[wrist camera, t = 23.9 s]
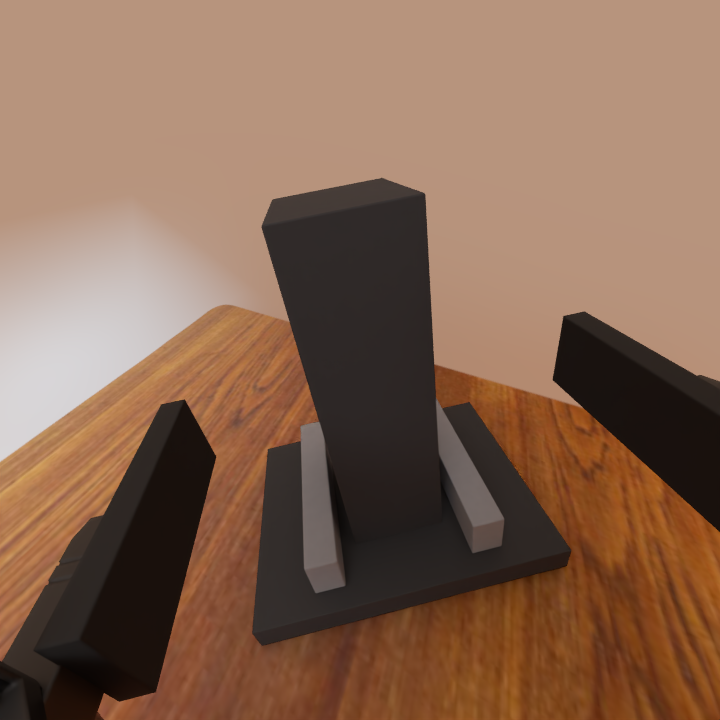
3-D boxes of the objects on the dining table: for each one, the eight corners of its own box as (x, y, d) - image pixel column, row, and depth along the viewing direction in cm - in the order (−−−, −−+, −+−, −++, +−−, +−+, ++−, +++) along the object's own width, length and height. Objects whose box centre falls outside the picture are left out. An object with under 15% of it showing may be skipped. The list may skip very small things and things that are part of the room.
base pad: (469, 416, 28) (469, 377, 26) (567, 566, 18) (580, 522, 16) (273, 462, 27) (257, 425, 25) (261, 646, 17) (234, 610, 15)
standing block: (412, 445, 25) (382, 177, 16) (442, 522, 20) (425, 192, 11) (342, 462, 24) (271, 199, 15) (355, 544, 19) (260, 225, 10)
